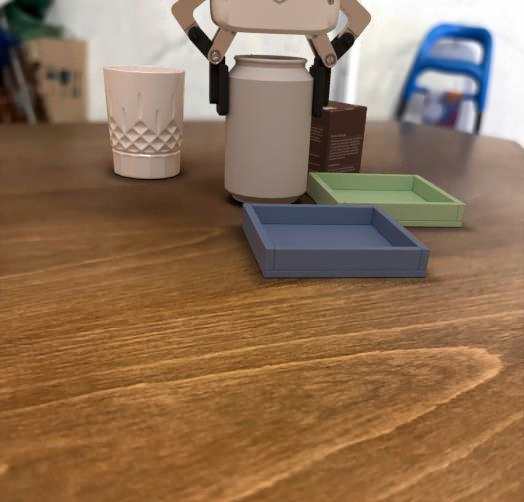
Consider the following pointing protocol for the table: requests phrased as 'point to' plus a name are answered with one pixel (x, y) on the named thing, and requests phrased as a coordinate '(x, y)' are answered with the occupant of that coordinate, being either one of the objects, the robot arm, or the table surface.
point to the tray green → (389, 197)
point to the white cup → (145, 119)
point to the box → (337, 139)
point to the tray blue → (331, 241)
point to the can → (268, 128)
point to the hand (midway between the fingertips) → (268, 113)
